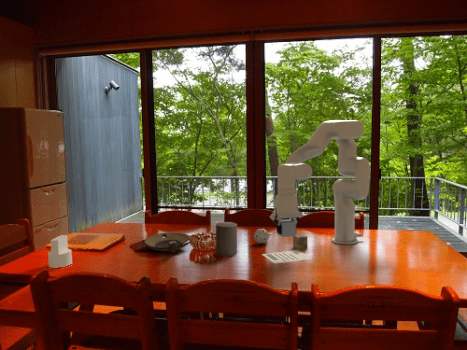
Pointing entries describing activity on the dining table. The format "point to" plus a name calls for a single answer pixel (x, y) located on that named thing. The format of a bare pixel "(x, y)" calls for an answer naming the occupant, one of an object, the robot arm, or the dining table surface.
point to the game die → (261, 236)
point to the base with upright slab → (59, 252)
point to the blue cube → (288, 228)
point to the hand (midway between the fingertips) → (286, 232)
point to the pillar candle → (226, 239)
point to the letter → (286, 256)
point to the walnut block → (300, 242)
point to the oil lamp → (167, 241)
